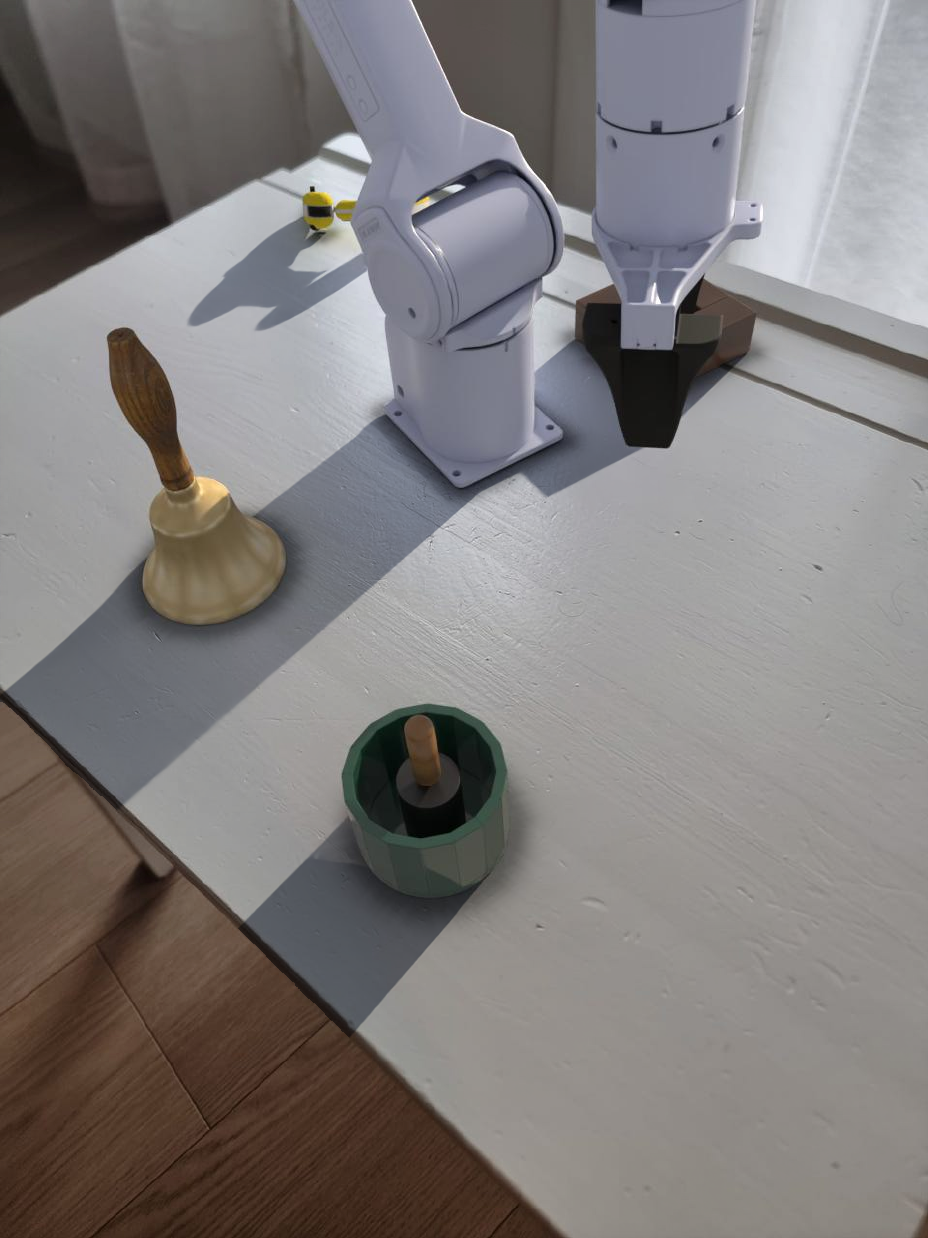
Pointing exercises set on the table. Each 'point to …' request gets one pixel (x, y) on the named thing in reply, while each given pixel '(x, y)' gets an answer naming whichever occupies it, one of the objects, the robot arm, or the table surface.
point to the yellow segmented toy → (334, 209)
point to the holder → (709, 302)
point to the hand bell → (190, 509)
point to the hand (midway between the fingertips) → (655, 393)
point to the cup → (378, 812)
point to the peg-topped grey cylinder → (428, 784)
